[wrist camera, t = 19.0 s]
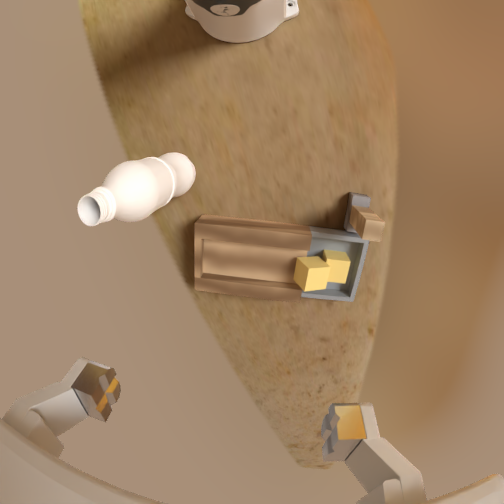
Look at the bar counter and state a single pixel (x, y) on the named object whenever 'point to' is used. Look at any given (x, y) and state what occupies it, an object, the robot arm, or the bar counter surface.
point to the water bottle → (137, 189)
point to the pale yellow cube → (337, 265)
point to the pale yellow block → (311, 273)
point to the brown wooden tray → (249, 257)
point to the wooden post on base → (363, 218)
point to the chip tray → (343, 243)
